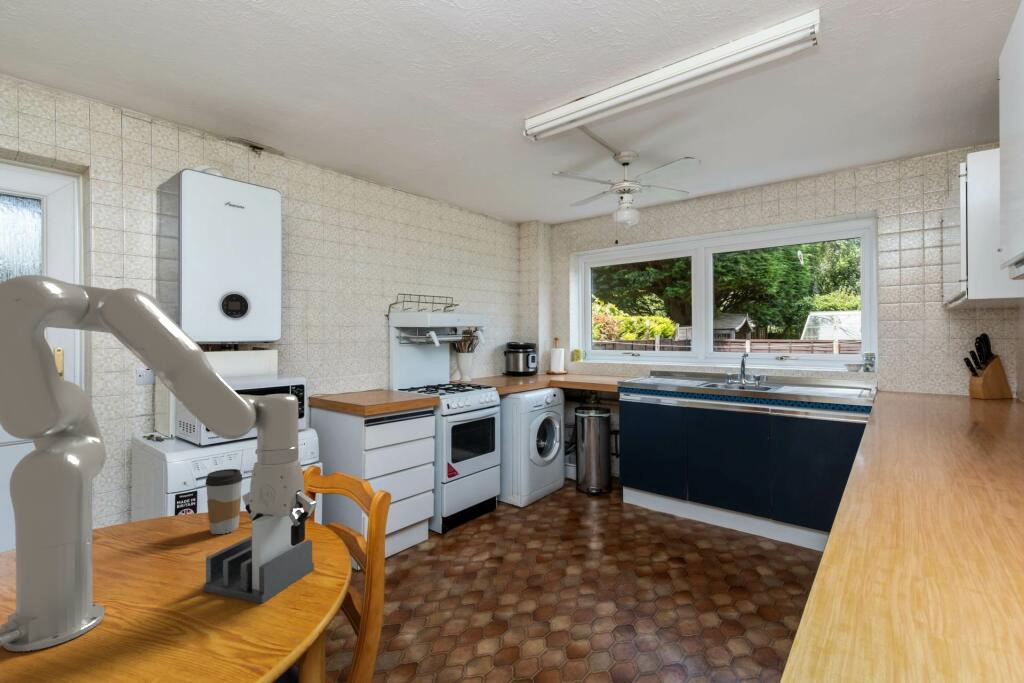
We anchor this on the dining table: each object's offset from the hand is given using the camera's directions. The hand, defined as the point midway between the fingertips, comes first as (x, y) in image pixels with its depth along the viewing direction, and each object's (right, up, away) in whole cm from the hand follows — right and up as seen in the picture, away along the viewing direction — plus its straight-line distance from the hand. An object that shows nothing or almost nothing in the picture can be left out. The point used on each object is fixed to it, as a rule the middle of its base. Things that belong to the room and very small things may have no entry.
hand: (278, 540), depth 98 cm
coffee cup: (-27, -9, +28) cm, 40 cm away
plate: (0, -7, 0) cm, 7 cm away
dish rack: (-4, -9, +1) cm, 10 cm away
